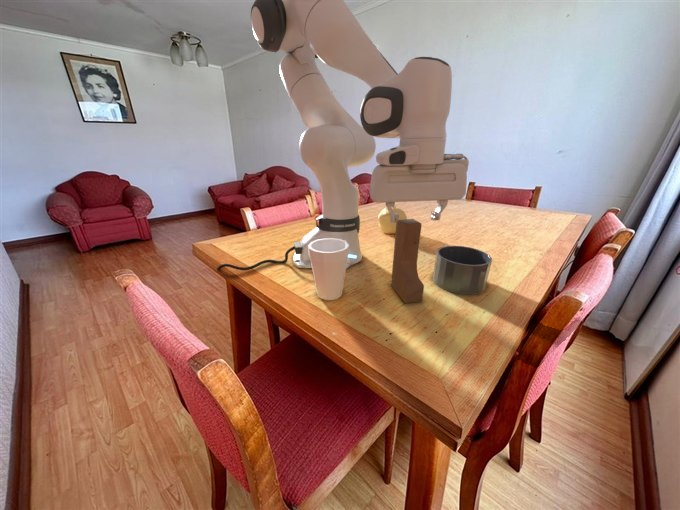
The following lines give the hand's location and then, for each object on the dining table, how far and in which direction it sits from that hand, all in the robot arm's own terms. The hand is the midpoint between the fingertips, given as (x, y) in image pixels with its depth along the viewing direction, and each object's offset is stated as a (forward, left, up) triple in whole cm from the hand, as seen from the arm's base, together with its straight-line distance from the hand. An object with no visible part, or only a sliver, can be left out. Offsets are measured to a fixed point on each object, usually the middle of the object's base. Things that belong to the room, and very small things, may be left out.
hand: (414, 220), depth 59 cm
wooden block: (0, 0, -19) cm, 19 cm away
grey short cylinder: (+16, +6, -19) cm, 25 cm away
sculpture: (+10, +48, -19) cm, 53 cm away
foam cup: (-19, +2, -19) cm, 27 cm away
